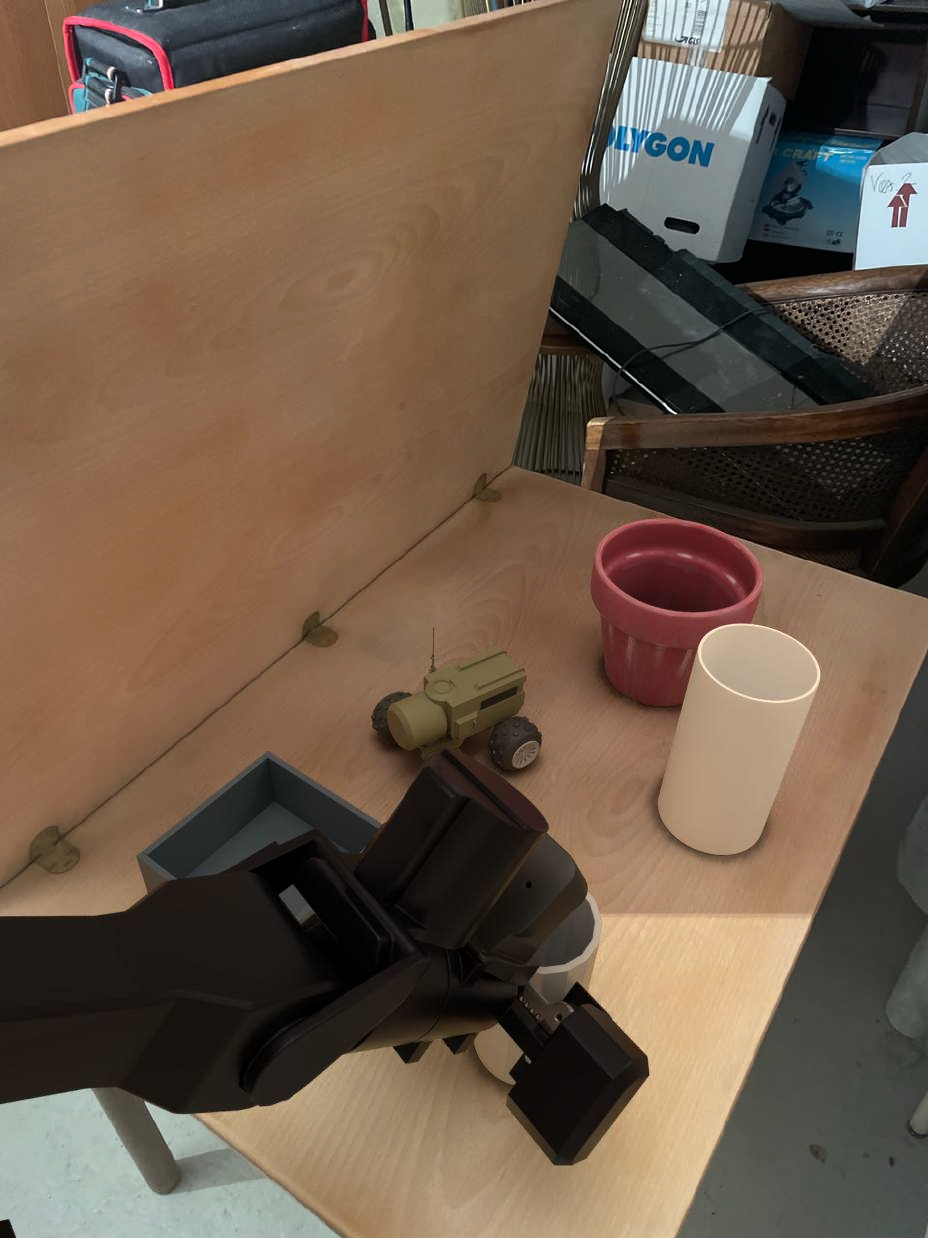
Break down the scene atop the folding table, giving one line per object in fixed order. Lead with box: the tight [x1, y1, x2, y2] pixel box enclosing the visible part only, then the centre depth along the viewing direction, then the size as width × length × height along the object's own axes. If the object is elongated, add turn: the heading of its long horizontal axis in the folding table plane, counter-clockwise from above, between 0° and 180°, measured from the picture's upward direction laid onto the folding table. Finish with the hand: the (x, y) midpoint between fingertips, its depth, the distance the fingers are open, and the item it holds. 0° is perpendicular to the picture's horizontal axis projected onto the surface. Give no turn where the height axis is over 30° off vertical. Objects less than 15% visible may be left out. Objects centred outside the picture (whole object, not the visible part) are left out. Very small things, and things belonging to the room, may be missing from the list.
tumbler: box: [473, 891, 603, 1086], centre depth 53 cm, size 6×6×13 cm
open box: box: [136, 750, 383, 924], centre depth 63 cm, size 12×12×6 cm
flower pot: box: [590, 518, 764, 707], centre depth 80 cm, size 14×14×13 cm
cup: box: [657, 623, 821, 856], centre depth 66 cm, size 8×8×16 cm
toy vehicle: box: [370, 626, 543, 774], centre depth 72 cm, size 10×11×12 cm
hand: (550, 967), depth 53 cm, fingers closed on tumbler, 6 cm apart
